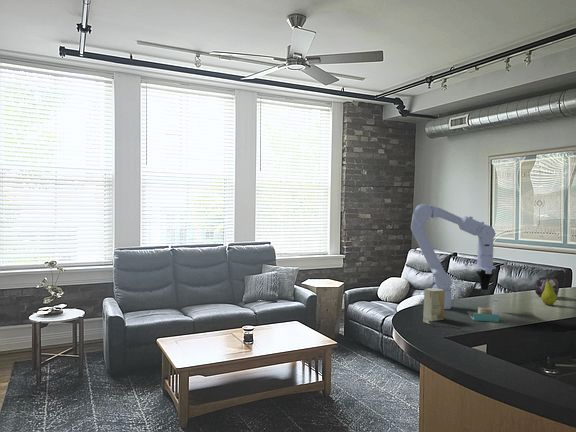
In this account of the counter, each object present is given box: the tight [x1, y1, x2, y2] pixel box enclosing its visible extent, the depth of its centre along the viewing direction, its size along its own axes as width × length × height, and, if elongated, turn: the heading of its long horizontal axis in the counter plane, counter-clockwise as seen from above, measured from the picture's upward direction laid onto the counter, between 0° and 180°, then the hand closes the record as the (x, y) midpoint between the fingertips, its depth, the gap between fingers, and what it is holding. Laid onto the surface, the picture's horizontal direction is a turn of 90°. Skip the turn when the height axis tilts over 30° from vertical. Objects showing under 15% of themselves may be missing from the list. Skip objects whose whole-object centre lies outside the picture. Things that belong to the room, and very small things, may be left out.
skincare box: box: [422, 287, 445, 325], centre depth 167 cm, size 6×4×12 cm
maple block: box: [477, 306, 493, 314], centre depth 167 cm, size 4×4×4 cm
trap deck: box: [466, 311, 500, 323], centre depth 171 cm, size 14×8×4 cm, turn 168°
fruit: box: [540, 276, 558, 306], centre depth 200 cm, size 6×6×12 cm
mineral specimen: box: [534, 276, 560, 297], centre depth 218 cm, size 10×10×10 cm
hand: (484, 289), depth 183 cm, fingers closed
